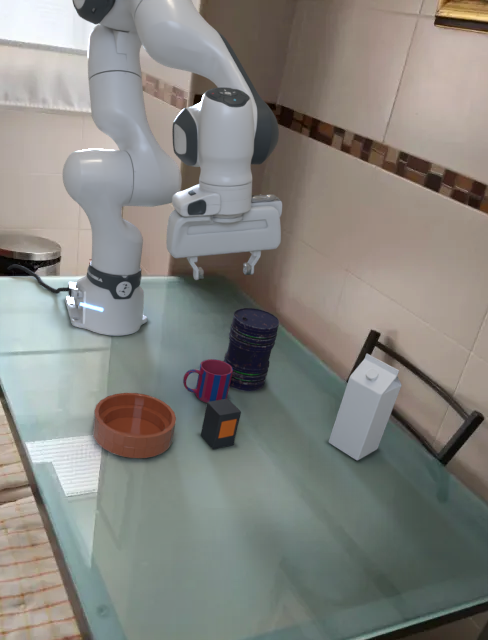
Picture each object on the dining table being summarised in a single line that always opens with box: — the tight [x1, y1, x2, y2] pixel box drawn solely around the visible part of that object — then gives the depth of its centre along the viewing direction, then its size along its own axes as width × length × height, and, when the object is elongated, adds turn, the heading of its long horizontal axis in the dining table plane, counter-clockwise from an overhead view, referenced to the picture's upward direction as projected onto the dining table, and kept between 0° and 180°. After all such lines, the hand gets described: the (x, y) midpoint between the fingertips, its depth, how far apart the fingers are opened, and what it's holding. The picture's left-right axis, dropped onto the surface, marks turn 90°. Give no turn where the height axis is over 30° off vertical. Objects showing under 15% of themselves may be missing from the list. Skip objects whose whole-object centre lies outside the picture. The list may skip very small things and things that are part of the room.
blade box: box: [200, 398, 242, 450], centre depth 120 cm, size 5×5×8 cm
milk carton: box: [328, 353, 402, 461], centre depth 124 cm, size 7×7×19 cm
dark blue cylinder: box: [223, 307, 280, 392], centre depth 140 cm, size 10×10×15 cm
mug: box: [182, 358, 233, 404], centre depth 133 cm, size 7×10×7 cm
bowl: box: [92, 392, 177, 459], centre depth 118 cm, size 14×14×5 cm
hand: (223, 276), depth 118 cm, fingers open, 8 cm apart
